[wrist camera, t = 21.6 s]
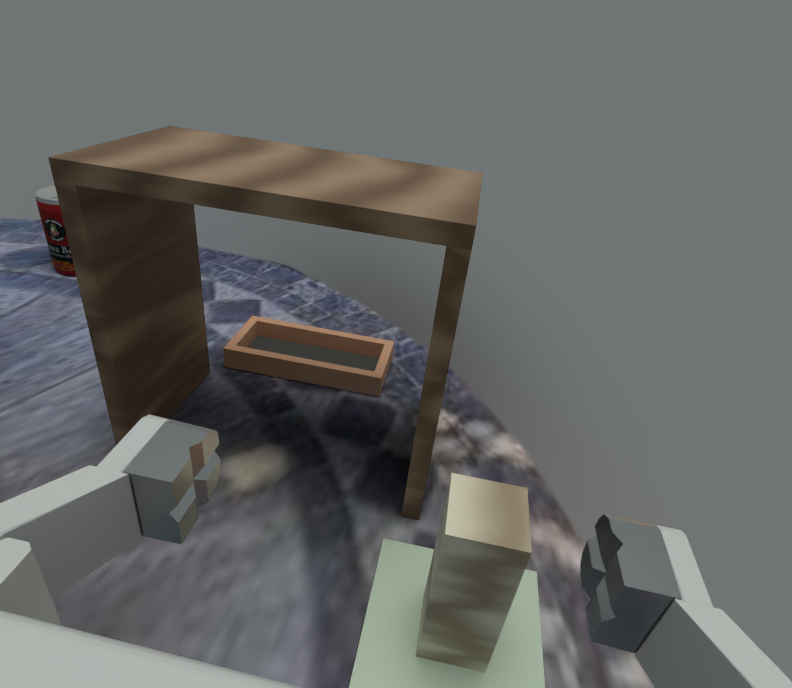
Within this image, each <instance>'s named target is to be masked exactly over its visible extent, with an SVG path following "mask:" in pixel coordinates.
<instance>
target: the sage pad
mask: <svg viewBox="0 0 792 688" xmlns="http://www.w3.org/2000/svg"><path fill="white" fill-rule="evenodd" d="M433 552H434V549H430V548H426V547H421V546H416V545H412V544H407V543H403V542H398V541H393V540H389V539H384V538H383V542H382V547H381V551H380V555H379V560H378V564H377V568H376V573H375V577H374V581H373V586H372V590H371V594H370V599H369V603H368V607H367V612H366V616H365V620H364V624H363V629H362V633H361V637H360V642H359V646H358V650H357V655H356V659H355V663H354V668H353V672H352V676H351V681H350V685H349V688H545V681H544V667H543V653H542V640H541V626H540V612H539V598H538V584H537V572H535V571H531V570H526V569H525V571H524V574H523V576H522V579H521V581H520V584H519V587H518V589H517V592H516V594H515V597H514V600H513V602H512V605H511V607H510V610H509V613H508V615H507V618H506V620H505V623H504V626H503V628H502V631H501V633H500V636H499V639H498V641H497V644H496V646H495V649H494V652H493V654H492V657H491V659H490V662H489V665H488V667H487V670H486V672H485V673H483V672H479V671H475V670H471V669H467V668H462V667H458V666H454V665H450V664H446V663H441V662H437V661H433V660H429V659H425V658H420V657H416V650H417V643H418V635H419V628H420V620H421V613H422V606H423V598H424V592H425V587H426V583H427V578H428V574H429V570H430V565H431V561H432V557H433Z"/></svg>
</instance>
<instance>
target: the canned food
mask: <svg viewBox="0 0 792 688" xmlns="http://www.w3.org/2000/svg"><path fill="white" fill-rule="evenodd" d="M35 194H36V201H37V205H38V209H39V213H40V217H41V221H42V225H43V228H44V232H45V236H46V240H47V243H48V247H49V251H50V255H51V259H52V262H53V266H54V267H55V269H56V270H57V271H58V272H59V273H61V274H64V275H69V276H76V273H75V268H74V264H73V260H72V256H71V251H70V247H69V243H68V239H67V234H66V230H65V226H64V222H63V217H62V213H61V209H60V205H59V201H58V196H57V192H56V188H55V186H49V187H46V188H42V189H40V190H38V191H37V192H36V193H35Z"/></svg>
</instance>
